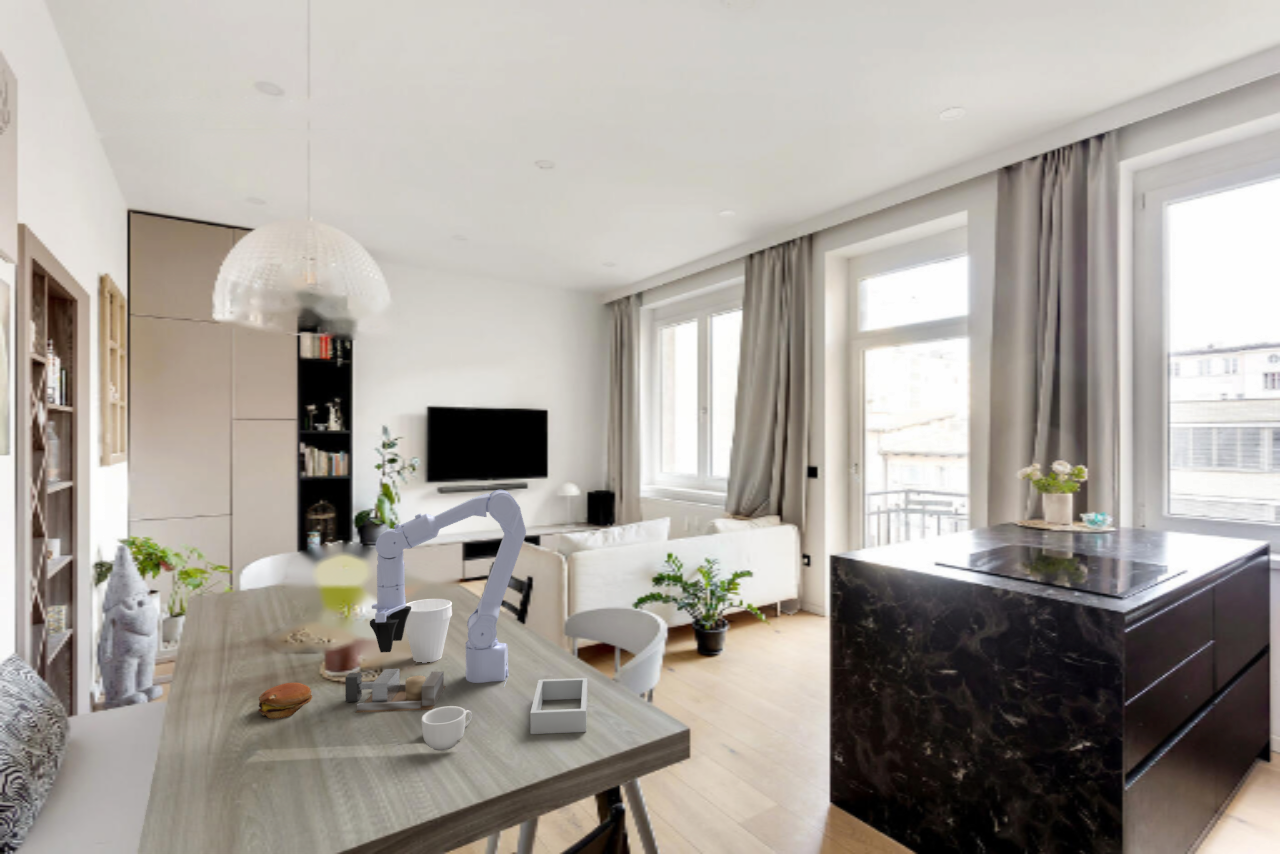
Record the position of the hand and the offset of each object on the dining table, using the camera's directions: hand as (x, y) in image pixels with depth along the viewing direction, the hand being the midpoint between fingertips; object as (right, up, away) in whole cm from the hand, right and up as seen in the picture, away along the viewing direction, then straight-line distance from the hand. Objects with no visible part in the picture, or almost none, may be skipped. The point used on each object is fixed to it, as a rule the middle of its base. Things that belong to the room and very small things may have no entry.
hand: (391, 645), depth 142 cm
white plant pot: (+1, -11, +22) cm, 25 cm away
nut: (+8, -9, -7) cm, 13 cm away
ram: (-2, -9, -7) cm, 11 cm away
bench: (+5, -10, -7) cm, 13 cm away
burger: (-19, -11, -8) cm, 23 cm away
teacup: (+20, -10, -23) cm, 32 cm away
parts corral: (+39, -10, -12) cm, 42 cm away
